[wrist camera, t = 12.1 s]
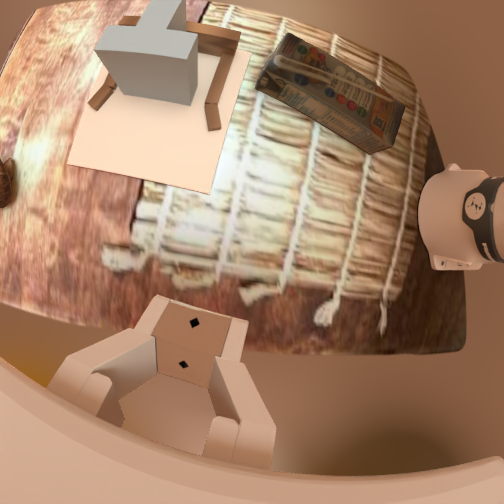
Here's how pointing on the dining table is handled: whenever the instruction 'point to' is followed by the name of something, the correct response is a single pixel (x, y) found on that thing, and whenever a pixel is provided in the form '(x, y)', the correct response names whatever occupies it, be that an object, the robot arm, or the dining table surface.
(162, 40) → the tee block
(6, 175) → the mushroom
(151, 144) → the board
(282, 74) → the beverage carton
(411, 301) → the dining table surface
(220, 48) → the dock fence
